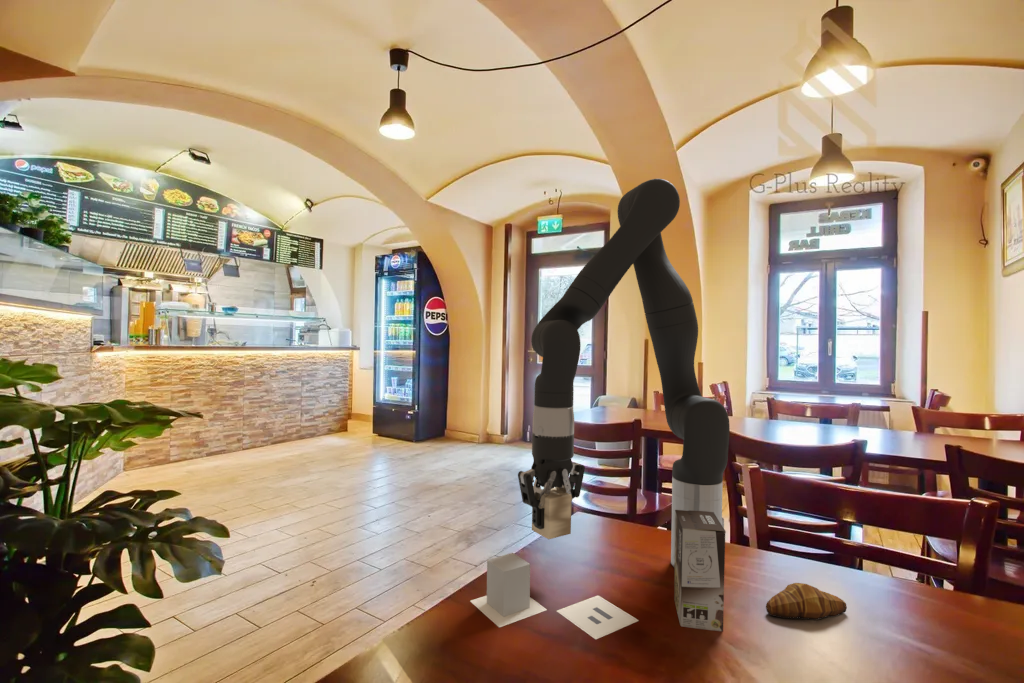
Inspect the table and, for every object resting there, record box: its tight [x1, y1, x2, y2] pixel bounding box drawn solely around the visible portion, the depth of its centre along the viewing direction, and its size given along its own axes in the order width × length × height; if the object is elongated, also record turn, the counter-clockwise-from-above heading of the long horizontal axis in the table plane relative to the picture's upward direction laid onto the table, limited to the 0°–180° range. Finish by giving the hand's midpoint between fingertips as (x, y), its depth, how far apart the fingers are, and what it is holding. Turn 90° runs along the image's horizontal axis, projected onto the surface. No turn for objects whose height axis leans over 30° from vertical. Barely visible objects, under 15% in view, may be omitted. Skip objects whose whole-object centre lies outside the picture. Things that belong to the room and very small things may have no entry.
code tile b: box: [469, 594, 548, 628], centre depth 82 cm, size 9×9×1 cm
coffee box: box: [673, 510, 727, 632], centre depth 80 cm, size 9×6×16 cm
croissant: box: [765, 582, 848, 621], centre depth 83 cm, size 14×7×5 cm, turn 96°
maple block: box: [531, 487, 573, 540], centre depth 92 cm, size 5×5×7 cm
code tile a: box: [556, 594, 640, 640], centre depth 79 cm, size 9×9×1 cm
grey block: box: [486, 552, 531, 617], centre depth 82 cm, size 5×5×7 cm
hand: (551, 524), depth 92 cm, fingers closed on maple block, 5 cm apart
